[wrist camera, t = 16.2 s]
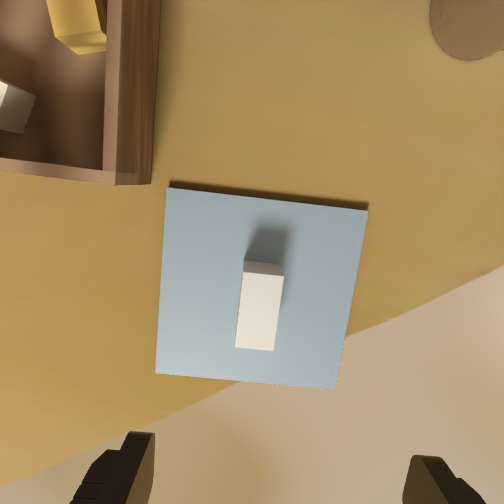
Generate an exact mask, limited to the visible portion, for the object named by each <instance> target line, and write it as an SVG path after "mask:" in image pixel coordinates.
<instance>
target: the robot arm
mask: <svg viewBox="0 0 504 504" xmlns="http://www.w3.org/2000/svg"><path fill="white" fill-rule="evenodd" d="M430 24H431V28H432V32H433V35H434V37H435V39H436V41H437V43H438V44H439V45H440V46H441V48H442V49H443V50H444V51H445V52H447V53H448V54H449V55H451V56H453V57H455V58H458V59H461V60H468V61H470V60H479V59H482V58H485V57H488V56H490V55H492V54H494V53H496V52H497V51H499V50H504V0H432V1H431V8H430ZM154 453H155V434H154V433H148V432H147V433H146V432H135V431H130V432H129V433H128V434H127V436H126V439H125V441H124V443H123V445H122V447H121V449H120V450H106V451H105V452H104V453H103V454H102V455H101V456H100V457H99V458H98V459H97V460H95V461H94V462H93V463H92V464H91V466H90V468H89V470H88V472H87V473H86V475H85V477H84V479H83V481H82V484H81V485H80V486H79V488H78V490H77V491H76V493H75V495H74V497H73V500H72V501H71V502H70V504H147V503H148V500H149V497H150V493H151V488H152V483H153V475H154ZM402 499H403V500H402V501H403V504H486V503H485V502H484V500H483V499H482V497H481V496H480V495H479V494H478V493H477V492H476V491H475V490H474V489H473V488H472V487H470V486H469V485H468V484H467V483H466V482H465V481H464V480H463V479H462V478H456V477H455V476H454V474H453V473H452V471H451V470H450V468H449V467H448V465H447V464H446V463H445V461H444V460H443V459H442V458H440V457H436V456H424V455H414V456H413V457H412V458H411V462H410V466H409V470H408V474H407V478H406V483H405V486H404V491H403V497H402Z"/></svg>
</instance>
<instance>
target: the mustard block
mask: <svg viewBox="0 0 504 504" xmlns="http://www.w3.org/2000/svg"><path fill="white" fill-rule="evenodd" d="M46 2H47V6H48V10H49V15H50V19H51V23H52V27H53V31H54V35H55V38H57V39H58V40H59V41H61V42H62V43H63V44H65V45H66V46H67V47H69V48H70V49H71V50H72V51H74V52H75V53H76V54H78V55H80V54H87V53H94V52H101V51H106V38H107V4H108V0H46Z"/></svg>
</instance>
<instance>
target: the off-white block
mask: <svg viewBox="0 0 504 504" xmlns="http://www.w3.org/2000/svg"><path fill="white" fill-rule="evenodd" d="M35 99H36V96H34V95H32V94H30V93H28V92H26V91H24V90H22V89H20V88H18V87H16V86H14V85H12V84H10V83H8V82H6V81H4V80H3V79H1V78H0V130H5V131H10V132H14V133H19V134H23V133H24V130H25V127H26V124H27V121H28V119H29V116H30V113H31V110H32V107H33V104H34V102H35Z"/></svg>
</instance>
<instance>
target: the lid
mask: <svg viewBox="0 0 504 504" xmlns="http://www.w3.org/2000/svg"><path fill="white" fill-rule="evenodd" d="M368 212H369V211H366V210H358V209H350V208H341V207H333V206H324V205H316V204H307V203H298V202H290V201H281V200H273V199H264V198H256V197H247V196H239V195H230V194H221V193H213V192H204V191H196V190H187V189H179V188H170V187H167V191H166V207H165V223H164V239H163V255H162V272H161V288H160V304H159V320H158V336H157V352H156V368H155V373H161V374H172V375H183V376H194V377H204V378H215V379H226V380H237V381H249V382H259V383H270V384H281V385H292V386H302V387H303V386H304V387H313V388H325V389H335V388H336V382H337V377H338V372H339V366H340V361H341V355H342V350H343V345H344V340H345V334H346V329H347V324H348V318H349V313H350V308H351V302H352V297H353V292H354V286H355V281H356V276H357V270H358V265H359V260H360V254H361V249H362V244H363V239H364V233H365V228H366V223H367V217H368Z"/></svg>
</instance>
